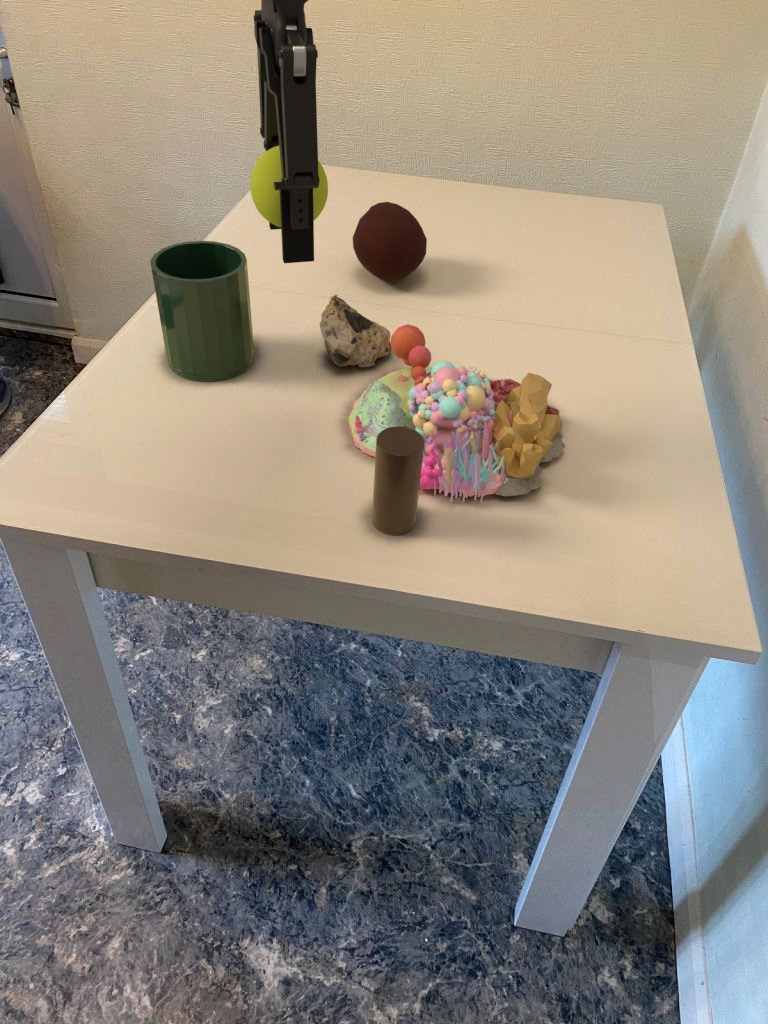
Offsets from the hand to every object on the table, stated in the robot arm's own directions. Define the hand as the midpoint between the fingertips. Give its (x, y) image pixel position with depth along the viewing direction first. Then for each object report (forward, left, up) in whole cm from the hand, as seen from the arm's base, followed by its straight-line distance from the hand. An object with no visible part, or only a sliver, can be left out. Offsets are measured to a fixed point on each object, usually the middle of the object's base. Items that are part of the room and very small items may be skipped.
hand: (290, 242), depth 68 cm
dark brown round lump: (+21, +36, -22) cm, 48 cm away
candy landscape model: (+17, -4, -22) cm, 29 cm away
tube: (-8, +18, -22) cm, 29 cm away
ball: (0, 0, +5) cm, 5 cm away
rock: (+10, +14, -22) cm, 28 cm away
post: (+6, -16, -22) cm, 28 cm away
